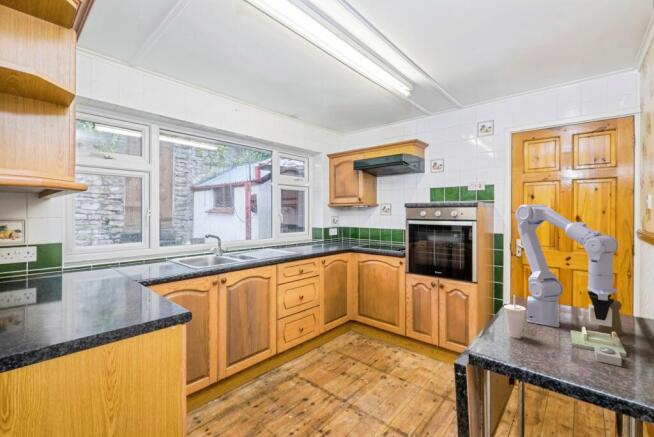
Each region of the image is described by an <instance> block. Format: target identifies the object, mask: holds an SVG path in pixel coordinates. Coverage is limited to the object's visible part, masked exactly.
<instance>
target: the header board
mask: <svg viewBox="0 0 654 437" xmlns="http://www.w3.org/2000/svg"><path fill="white" fill-rule="evenodd" d="M569 332H570V340H571V346H572V347H574V348H578V349H579V348H580V349H584V350H588V351H593V352H594V345H596V346H601V347H607V348H612V349H617V350H618V352H619V354H620V356H621V357H625V358H627V351H626V350H625V347H624V346H623V344H622V341H621V340H620V338H619V335H617V334H616V332H612V334H608V333H604V332H601V331H600V332H599V331H593V330H588V329H587V330H586V326H581V331H577V330H574V329H573V330H572V329H570V331H569Z"/></svg>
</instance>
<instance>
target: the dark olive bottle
mask: <svg viewBox="0 0 654 437" xmlns="http://www.w3.org/2000/svg"><path fill="white" fill-rule="evenodd" d="M610 308H611V310H612V327H610V326H604V325H599V327H598V330H599V331H600V332H601V333H605V334H610V335H612V332H616V334H617V336H621V335H623V334H624V332H623V327H622V320H621V313H620V310H621V309H622V302H620V301H619V300H617V299H614V302H613V303H612V305H611V306H610Z"/></svg>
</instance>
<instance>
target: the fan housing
mask: <svg viewBox="0 0 654 437" xmlns="http://www.w3.org/2000/svg"><path fill="white" fill-rule="evenodd" d="M593 353H594V357H595V361H596V362H598V363H599V362H600V363H604V364H609V365H613V366H619V367H622V356H620V354H619V352H618V350H617V349H612V348H607V347H601V346H596V345H594V351H593Z"/></svg>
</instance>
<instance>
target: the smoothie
mask: <svg viewBox="0 0 654 437" xmlns="http://www.w3.org/2000/svg"><path fill="white" fill-rule="evenodd" d="M512 302H513V304H512V303H510V304H508V303H507V304H505V305H504V306H503V310H504V314H505V321H506V328H507V335H508V337H510V338H513V339H521V338H522V334H523V329H524V328H523V327H524V320H525V316H526V314H527V308H526V307H524V306H522V305H519V304H516V294H513V301H512Z"/></svg>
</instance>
